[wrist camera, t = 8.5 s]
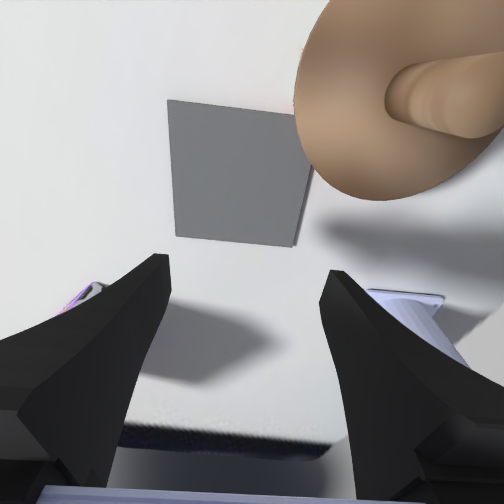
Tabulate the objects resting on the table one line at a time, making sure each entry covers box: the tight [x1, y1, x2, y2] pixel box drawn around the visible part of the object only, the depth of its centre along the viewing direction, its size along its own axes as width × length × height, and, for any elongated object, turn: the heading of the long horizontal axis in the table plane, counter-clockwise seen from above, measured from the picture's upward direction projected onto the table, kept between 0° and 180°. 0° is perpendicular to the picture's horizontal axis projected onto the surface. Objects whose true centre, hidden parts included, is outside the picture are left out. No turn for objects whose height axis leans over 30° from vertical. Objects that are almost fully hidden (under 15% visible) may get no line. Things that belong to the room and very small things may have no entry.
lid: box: [294, 0, 504, 201], centre depth 11 cm, size 11×11×6 cm
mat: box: [167, 100, 311, 248], centre depth 19 cm, size 10×10×1 cm
